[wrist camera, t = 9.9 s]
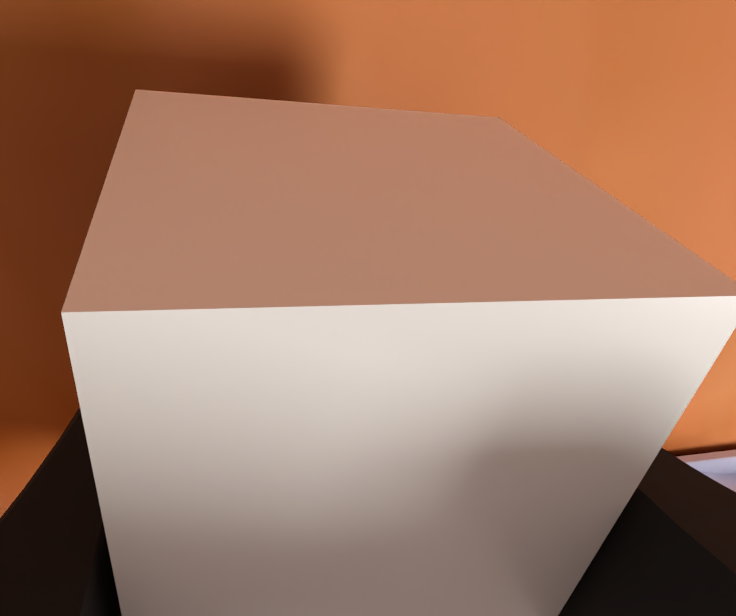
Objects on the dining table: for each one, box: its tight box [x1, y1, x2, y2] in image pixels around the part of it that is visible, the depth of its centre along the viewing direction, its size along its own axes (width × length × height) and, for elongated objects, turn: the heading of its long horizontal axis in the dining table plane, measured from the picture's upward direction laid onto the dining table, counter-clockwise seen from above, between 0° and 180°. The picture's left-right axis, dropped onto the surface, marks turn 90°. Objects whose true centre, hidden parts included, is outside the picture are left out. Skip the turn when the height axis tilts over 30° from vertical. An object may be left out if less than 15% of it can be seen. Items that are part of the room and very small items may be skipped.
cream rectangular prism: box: [61, 89, 736, 616], centre depth 9 cm, size 6×10×5 cm, turn 171°
